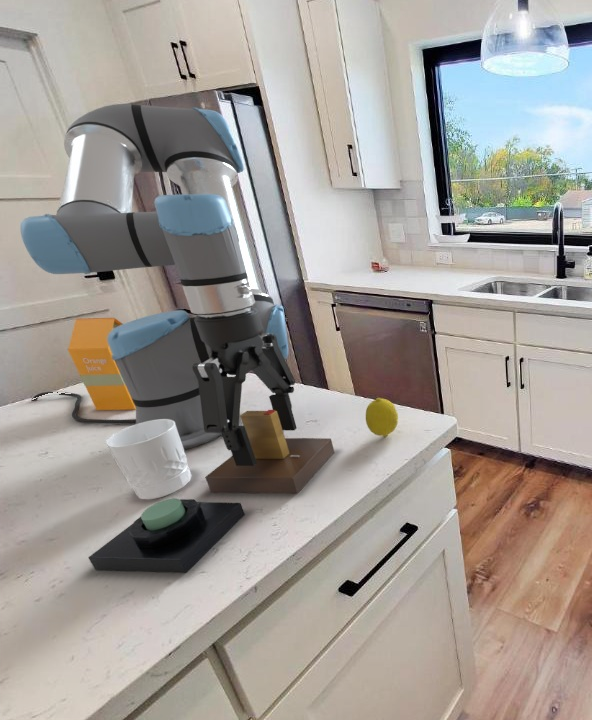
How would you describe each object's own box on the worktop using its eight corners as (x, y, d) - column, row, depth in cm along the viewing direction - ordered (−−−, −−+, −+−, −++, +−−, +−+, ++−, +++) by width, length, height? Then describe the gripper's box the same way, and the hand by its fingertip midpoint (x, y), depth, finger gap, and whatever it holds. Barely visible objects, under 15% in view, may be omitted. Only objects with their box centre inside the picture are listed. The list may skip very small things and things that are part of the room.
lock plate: (211, 492, 65) (204, 476, 63) (259, 452, 75) (254, 437, 74) (297, 494, 64) (292, 477, 63) (334, 452, 74) (330, 437, 73)
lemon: (391, 445, 75) (383, 406, 73) (363, 443, 77) (355, 404, 74) (406, 429, 80) (399, 392, 78) (380, 427, 82) (373, 390, 79)
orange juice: (134, 409, 92) (96, 322, 85) (95, 410, 92) (54, 324, 85) (164, 394, 99) (131, 312, 92) (128, 394, 100) (93, 313, 92)
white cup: (158, 472, 70) (135, 420, 66) (207, 469, 71) (187, 417, 67) (118, 504, 63) (89, 448, 59) (173, 500, 63) (148, 444, 60)
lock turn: (254, 458, 68) (239, 414, 65) (261, 453, 69) (246, 409, 66) (283, 459, 67) (269, 414, 64) (289, 453, 69) (276, 409, 66)
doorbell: (95, 570, 51) (81, 546, 50) (167, 513, 61) (157, 490, 59) (186, 573, 51) (175, 548, 49) (245, 514, 60) (237, 492, 58)
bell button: (137, 530, 53) (131, 519, 52) (165, 508, 56) (160, 498, 56) (167, 531, 52) (161, 520, 52) (193, 508, 56) (189, 498, 55)
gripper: (184, 335, 49) (241, 491, 57) (297, 293, 69) (327, 412, 77) (124, 335, 49) (189, 490, 57) (254, 294, 70) (288, 412, 78)
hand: (268, 445), depth 67 cm, fingers open, 9 cm apart
